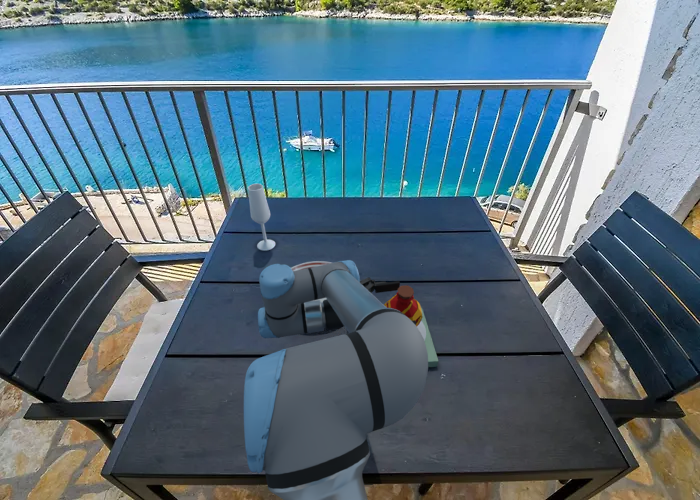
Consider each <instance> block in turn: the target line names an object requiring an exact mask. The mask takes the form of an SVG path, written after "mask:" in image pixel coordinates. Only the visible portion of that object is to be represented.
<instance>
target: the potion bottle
mask: <svg viewBox="0 0 700 500" xmlns="http://www.w3.org/2000/svg"><path fill="white" fill-rule="evenodd" d="M414 294H415V292H414V288H413V287H411V286H410V285H407V284H406V285H400V287H399V288H398V290H397V291H396V293H395V295H394V296H392V297H391V298H390V299H388V300H387V301H386V302H385V303H383V305H384V306H386V307H387V308H392V309H396V310H398V311H400V312H402V313H403V314H404V315H405V316H407V317H408V318H409V319H410V320H411V321H414V320H415V321H416V327H417V326H418V325H419V324H420V322H421V320H422V318H423V316H422V311H421V308H422V306H421V303H420V302H419V301H418V300H417V299H415V297H414Z"/></svg>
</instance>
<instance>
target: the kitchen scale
mask: <svg viewBox="0 0 700 500" xmlns="http://www.w3.org/2000/svg"><path fill="white" fill-rule="evenodd" d="M421 311H422V316H423V318H422V320H421V322H420V324H419V325H418V326H417V328H418V330H419V331H420V333H421V335H422V337H423V339H424V342H425V345H426V349H427V353H428V368H437V367H438V364H439V358H438V355H437V352H436V349H435V345H434V342H433V339H432V335H431V332H430V329H429V326H428V322H427V319H426V316H425V313H424V309H423V307H421Z"/></svg>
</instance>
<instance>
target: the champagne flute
mask: <svg viewBox="0 0 700 500" xmlns="http://www.w3.org/2000/svg"><path fill="white" fill-rule="evenodd" d="M247 193H248V201H249V202H248V203H249V213H250V218H251V220H252V221H253V222H254V223H256V224H259V225H260V228H261V233H262V239H263V240H260V241H259V242H258V243H257V245H256V247H257V249H258V250H260V251H265V252H266V251H269V250H272V249H274V248H275V246H276V242H275V241H274V240H273V239H270V238H269V239H268V238H267V232H266V227H265V224H266V223H267V222H268V221H269V220H270V218H271V211H270V207H269V204H268V200H267V197H266V193H265V190H264V185H263V184H261V183H252V184H250V185H249V186H247Z"/></svg>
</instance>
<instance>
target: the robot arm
mask: <svg viewBox="0 0 700 500" xmlns="http://www.w3.org/2000/svg"><path fill="white" fill-rule="evenodd" d="M258 278H259V279H258V282H259V288H260V295H261V298H262V302H263V303H262V304H263V307H260V308H259V309H258V311H257V326H258V331H259V335H260V337H261V338H263V339H274V338H276V339H277V338H278V339H279V338H284V337H290V336H298V335H304V334H311V333H319V332H323V331H324V330H325V329H326V330H327V331H334V330H339V329H341V328H343V327H344V328H345V330H346V333H344V334H340V335H335V336H331V337H328V338H324V339H323V338H322V339H320V340H319V339H318V340H315V341H311V342H308V343H302V344H299V345H294V346H291V347H286V348H283V349H281V350H277V351H275V352H272V353H269V354H267V355H264V356H262V357H257V358H256V359H254V360H253V361H252V362H251V364H250V365H248V368H247V370H246V373H245V377H244V385H243V386H244V387H243V431H244V432H243V433H244V447H245V448H244V449H245V453H246V462H247V466H248V469H249V471H250V472H252V473H257V474H260V473H263V471H264V472H265V480H266V484H267V490H268V491H269V492H271V493H272V494H274V495H275V496H277V497H278V498H280V499H281V500H369V499H368V495H367V491H366V487H365V483H364V482H365V481H364V478H363V471H364V469H365V466H366V465H367V463H368V460H369V458H370V456H371V450H370V447H369V442H368V439H367V435H368V434H370V433H373V432H375V431H378V430H382V429H384V428H387V427H390V426H392V425H394V424H395V423H397V422H399V421H401V420H402V419H403V418H404V417H406V416H407V414H409V413H410V412H411V410H413V408H414V407H415V406H416V404H417V403H418V401H419V400H420V398H421V395H422V394H423V391H424V389H425V386H426V382H427V378H428V371H429V367H428V353H427V349H426V345H425V342H424V339H423V337H422V335H421V333H420V331H419V330H418V328H417V327H416V321H415V320H414V321H411V320H410V319H409V318H408V317H407V316H405V315H404V314H403V313H402V312H400V311H398V310H396V309H392V308H387V307H386V306H384V303H382V302H381V300H379V299H378V298H377V297H376V296H375V295H374V294H373V292H375V294H379V293H387V292H395V291H396V292H397V291H398V288H399V287H400V286H401V282H400V280H397V281H389V282H388V281H387V282H386V281H377V282H376V280H375V279H372V278H371V277H365V278H363V279H362V280H361V278H360V273H359V270H358V267H357V265H356V263H355V262H354V261H353V260H351V259H347V260H337V261H334V262H331V263H330V264H325V265H321V266H316V267H312V268H307V269H302V270H297V271H292V269H291V266H289V265H288V264H280V263H273V264H270V265H268V266H266V267H264V269H263V270H262V271H261V272H260V274H259V277H258ZM322 298H326V300H324V301H323V302H321V301H320V300H318V299H322ZM313 300H317V301H313ZM309 301H310V302H309ZM304 304H305V306H304ZM305 314H306V315H305ZM306 323H307V324H306Z"/></svg>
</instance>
